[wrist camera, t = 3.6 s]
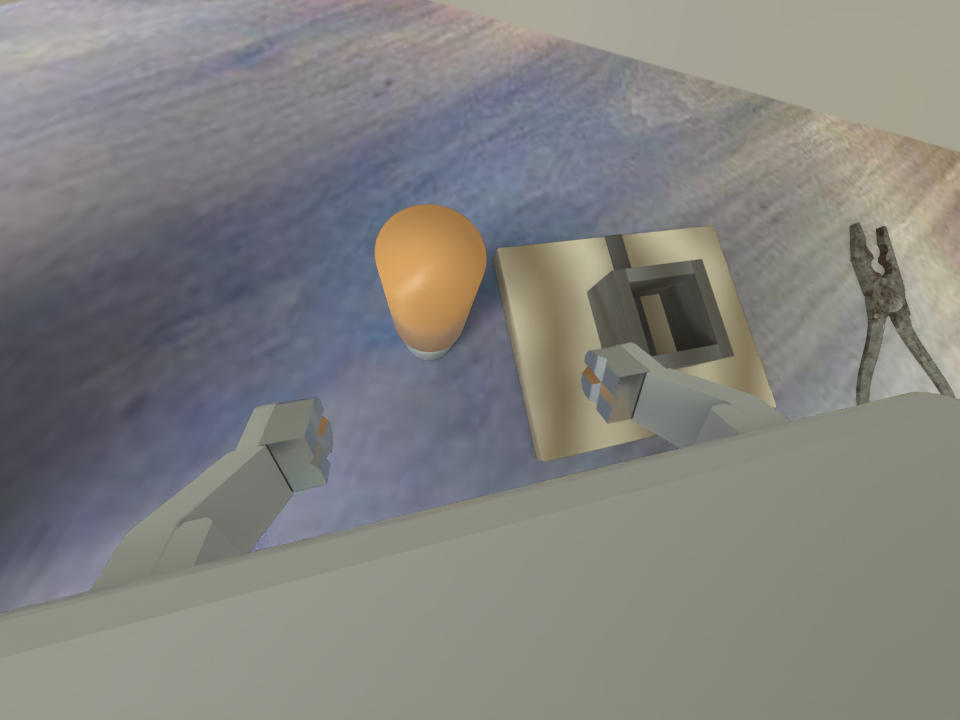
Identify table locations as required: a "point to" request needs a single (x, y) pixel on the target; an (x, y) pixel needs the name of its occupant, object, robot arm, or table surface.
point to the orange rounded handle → (430, 275)
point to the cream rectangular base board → (619, 324)
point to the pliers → (885, 310)
